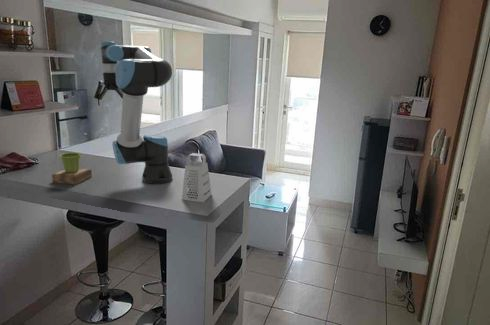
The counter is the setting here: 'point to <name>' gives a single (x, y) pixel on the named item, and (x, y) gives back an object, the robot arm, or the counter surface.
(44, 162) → the counter surface
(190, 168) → the grater
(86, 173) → the tan flat square block
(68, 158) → the plant pot
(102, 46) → the robot arm
